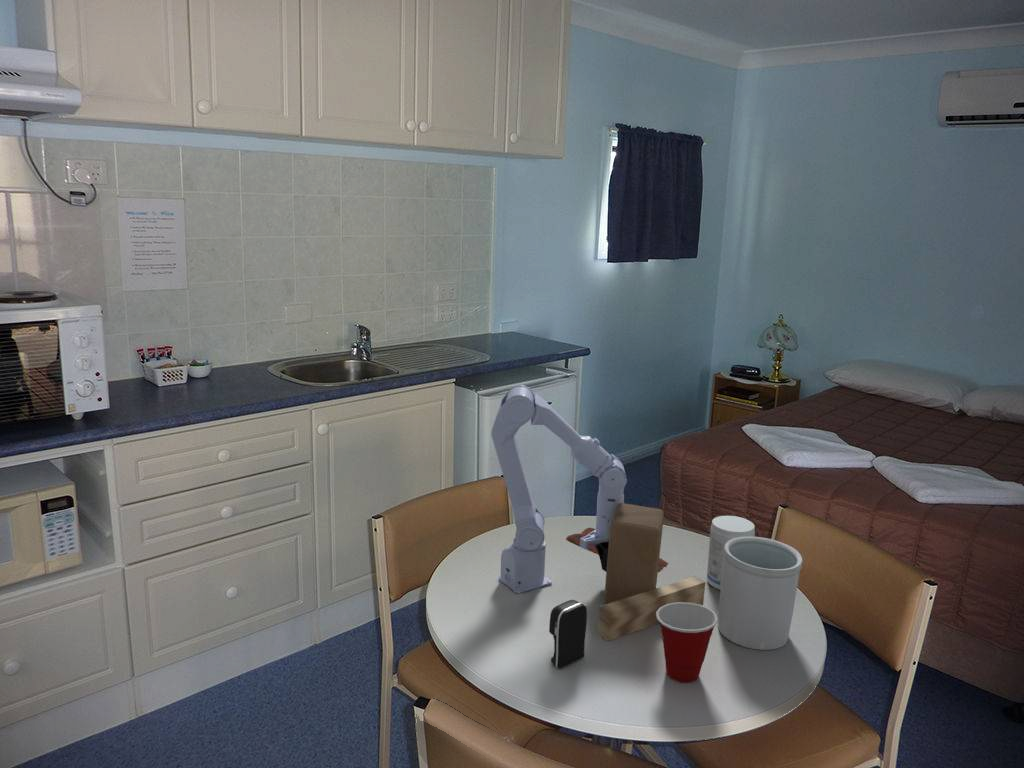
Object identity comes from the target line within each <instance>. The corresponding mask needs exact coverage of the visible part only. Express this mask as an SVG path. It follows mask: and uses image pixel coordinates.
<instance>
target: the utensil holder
mask: <svg viewBox="0 0 1024 768" xmlns="http://www.w3.org/2000/svg"><path fill="white" fill-rule="evenodd" d="M724 555H725V558H724V566H723V574H722V584H721V590H720V594H719V605H718V615H717V619H718V621H717V626H718V629H719V632H720V634H721V635H722V636H723V637H724V638H726V639H727V640H729V641H730V642H732V643H734V644H736V645H738V646H741V647H743V648H746V649H747V648H748V649H752V650H759V651H760V650H761V651H771V650H777V649H779V648H782V647H784V646H785V645H786V644H787V642H788V640H789V636H790V630H791V625H792V619H793V614H794V608H795V602H796V601H795V600H796V595H797V591H798V586H799V585H798V584H799V579H800V578H799V577H800V571H801V570H802V567H803V558H802V555H801V553H800V552H799V551H798V550H797V549H796V548H794V547H792V546H790V545H789V544H786V543H784V542H780V541H778V540H775V539H772V538H766V537H761V536H755V537H737V538H734V539H731V540H729V541H728V542H727V543H726V544H725V547H724Z"/></svg>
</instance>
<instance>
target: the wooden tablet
mask: <svg viewBox="0 0 1024 768" xmlns="http://www.w3.org/2000/svg"><path fill="white" fill-rule="evenodd" d="M594 530H596V528H594V527H587V528H585V529H584V530H583V531H582V532H581V533H573V534H570V535H568V536H566V540H568V541H570V542H571V543H573V544H575V545H577V546H580V538H582V537H585V536H587V535H588V534H590V533H591V532H593V531H594ZM587 550H588V551H591V552H593V553H595V554H598V552H597V549H596V547H595V546H594V545H593V546H590V547H589V549H587ZM668 565H669V563H668V561H666V560H664V559H662V558H661V557H659V565H658V573H660V572H661V571H663V570H664V567H665V568H666V567H667V566H668Z"/></svg>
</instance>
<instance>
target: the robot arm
mask: <svg viewBox="0 0 1024 768" xmlns="http://www.w3.org/2000/svg"><path fill="white" fill-rule="evenodd" d="M529 421H530V425H532V426H544V427H546V428H547V429H548V430H549V431H551V432H552V433H553V434H554V435H555V436H557V437H558V438H559V439H560V440H561V441H562V442H564V443H565V444H566V445H567V446H569V447H570V449H571V450H570V453H571V457H572V458H573V459H575V460H576V461H577V462H578V463H579V464H580V465H581V466H583V468H584V469H586V470H587V471H588V473H590V474H591V475H593V476H595V477H597V479H598V492H597V497H596V498H597V499H596V516H595V519H596V521H595V529H596V530H594V531H593V532H591V533H590V534H588V535H587V536H585V537H582V538H580V545H579V547H581V549H584V550H588V549H589V547H590V546H593V545H594V546H595V547H596V549H597V552H598V553H597V555H598V556H599V560H600V564H601V566H600V567H601V570H603V571H604V572H606V571H607V559H608V547H609V535H610V524H611V521H612V519H613V516H614V513H615V510H616V508H617V506H618V504H620V503H624V504H625V494H624V491H625V487H626V485H627V483H628V479H627V475H626V471H625V467H624V464H623V463H622V462H621V460H620V458H618V457H616V455H614V454H613V453H611V454H610V453H608V451H607V450H605V449H604V448H603V447H602V446H601V445H600V443H601V442H600V440H599V439H598V438H597V437H594V438H592V437H591V436H590V435H581V434H579V432H577V431H576V430H575V429H574V428H573V427H572V426H571V425H570V424H569V422H567V421H566V419H564V418H563V417H562V416H561V415H560V414H559V413H558V412H557V411H556V410H555V409H554V408H553V407H552V406H551V405H550V404H549V403H548V402H547V401H546V400H544V399H543V397H541V396H540V395H539V394H537V393H535V394H534V391H533V390H532V389H531V388H530V387H528V386H527V385H523V384H519V385H518V384H517V385H514V386H513V387H511V388H510V389H509V390H508V391H507V392H506V393H505V395H504V396H503V397H502V398H501V402H500V405H499V408H498V411H497V413H496V415H495V419H494V421H493V424H492V428H491V432H490V434H491V435H490V436H491V439H492V442H493V445H494V449H495V453H496V455H497V460H498V463H499V466H500V469H501V472H502V473H501V474H502V476H503V480H504V483H505V485H506V486H505V487H506V489H507V494H508V497H509V500H510V502H511V506H512V512H513V519H514V524H515V528H516V529H515V537H514V538H513V541H512V544H511V545H510V546H508V547H507V548H504V549H503V550H502V551H501V555H500V576H498V580H499V581H501V582H502V583H504V584H505V585H506V586H507V587H508V588H510V589H511V590H512V591H513V592H515V593H516V594H520V593H523V592H528V591H531V590H534V589H539V588H541V587H546V586H548V585H552V583H553V581H552V580H551V579H549V578H548V577H547V576H545V572H546V571H545V569H546V568H545V567H546V549H547V548H546V547H547V546H546V545H547V543H546V540H545V530H544V529H545V517H544V515H543V513H542V512H541V511H540V510H539V509H538V507H537V504H536V502H535V499H534V498H533V495H532V491H531V489H530V488H531V487H530V485H529V482H528V478H527V474H526V471H525V467H524V464H523V460H522V457H521V454H520V451H519V447H518V443H517V440H516V437H515V435H517V433H518V432H519V430H520V428H521V427H523V426H524V425H526V424H527V423H528V422H529Z"/></svg>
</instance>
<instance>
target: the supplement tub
mask: <svg viewBox="0 0 1024 768" xmlns="http://www.w3.org/2000/svg"><path fill="white" fill-rule="evenodd" d="M755 527H756V526H755V524H754V522H752V521H751V520H748V519H747V518H744V517H739V516H735V515H719V516H716V517H713V519H712V521H711V526H710V532H709V533H710V534H709V545H708V546H709V547H708V558H707V568H706V569H707V572H706V579H707V580H706V581H707V582H708V584H709V585H710V586H712V587H713V588H715V589H717V590H719V591H721V584H722V574H723V566H724V558H725V555H724V547H725V544H726V543H727V542H728V541H729V540H731V539H734V538H737V537H756V531H755Z"/></svg>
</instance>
